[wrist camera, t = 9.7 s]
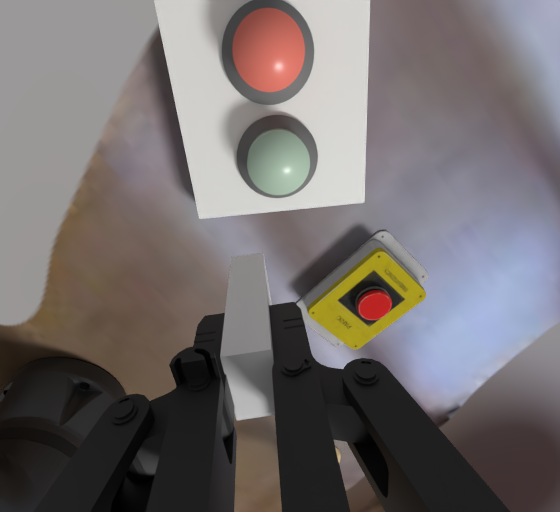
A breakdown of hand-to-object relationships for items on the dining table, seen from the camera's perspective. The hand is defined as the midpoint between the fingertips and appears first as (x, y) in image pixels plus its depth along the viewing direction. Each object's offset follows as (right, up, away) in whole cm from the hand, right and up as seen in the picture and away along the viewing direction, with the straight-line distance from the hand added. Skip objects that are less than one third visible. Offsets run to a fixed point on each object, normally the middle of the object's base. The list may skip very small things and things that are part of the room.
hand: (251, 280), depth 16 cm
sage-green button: (+1, +10, +14) cm, 17 cm away
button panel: (0, +18, +13) cm, 23 cm away
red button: (0, +17, +10) cm, 20 cm away
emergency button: (+11, -3, +26) cm, 28 cm away
